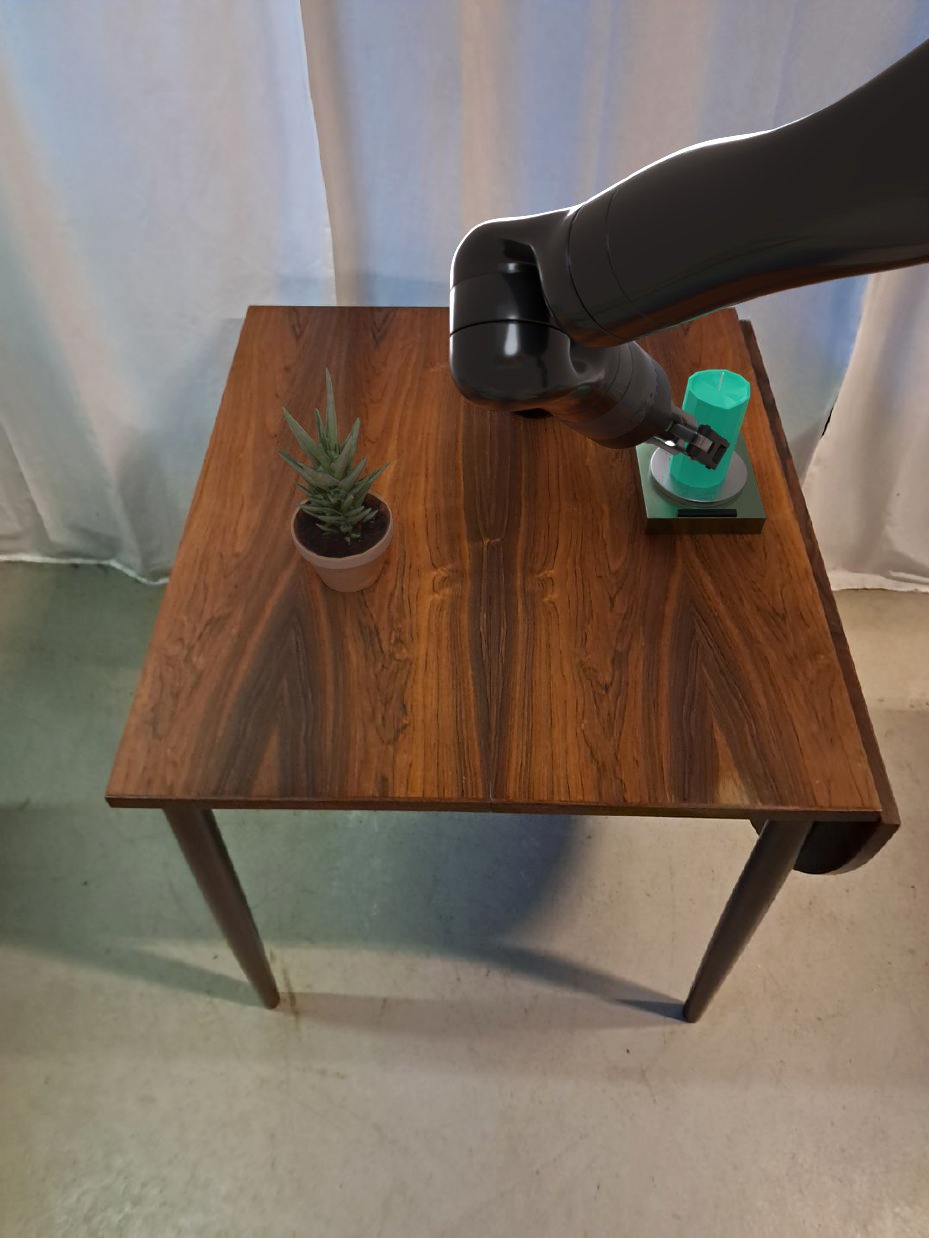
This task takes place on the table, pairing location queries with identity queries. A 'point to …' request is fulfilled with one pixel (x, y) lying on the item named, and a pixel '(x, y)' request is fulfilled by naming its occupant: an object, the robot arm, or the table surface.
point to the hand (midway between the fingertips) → (666, 431)
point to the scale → (697, 496)
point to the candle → (712, 421)
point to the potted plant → (338, 507)
